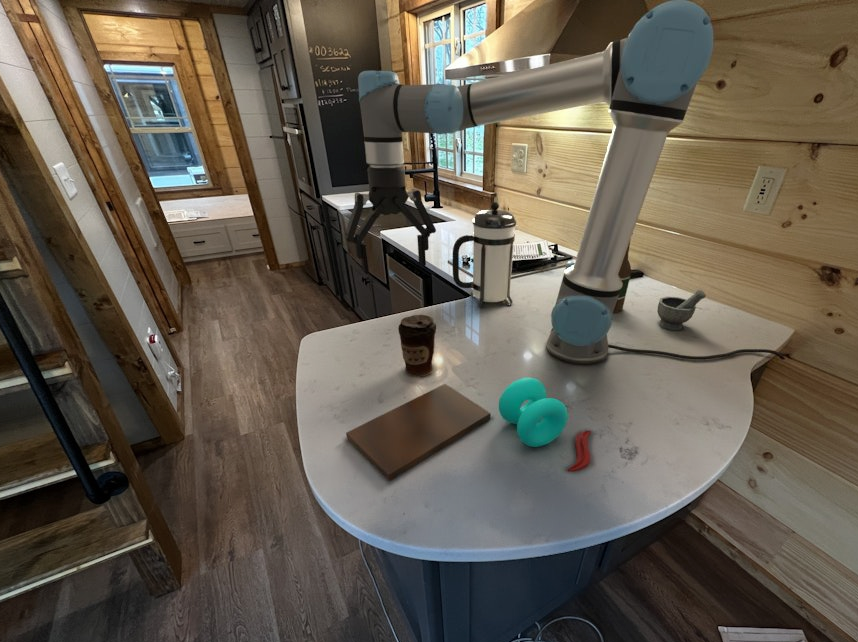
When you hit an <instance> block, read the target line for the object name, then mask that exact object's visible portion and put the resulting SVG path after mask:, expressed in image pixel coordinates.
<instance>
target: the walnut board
mask: <svg viewBox="0 0 858 642" xmlns="http://www.w3.org/2000/svg"><path fill="white" fill-rule="evenodd" d="M489 420H491V412H490V411H488V410H486V409H485V408H484V407H482V406H480V404H477V403H475V402H474V401H473V400H471V399H470V398H468V397H466V396H465V395H463V394H462V393H461V392H458V391H457V390H455V389H454V388H452V387H451V386H449V385H447V383H444V384H441V385H439V386H437V387H436V388H433V389H431V390H430V391H427V392H425V393H424V394H422V395H419V396H417V397H415V398H413V399H411V400H409V401H407V402H405V403H403V404H402V405H399V406H397V407H395V408H393V409H391V410H389V411H387V412H385V413H382V414H380V415H379V416H377V417H375V418H373V419H371V420H369V421H367V422H365V423H363V424H361V425H359V426H357V427H355V428H353V429H351V430H348V431H347V432H345V434H346V439H347V440H348V441H349V442H350V443H351V444H352V445H353V447H355V449H356V450H358V451H359V452H360V453H361V454H362V455H363V457H365V458H366V460H368V461H369V462H370V463H371V464H372V465H373V466H374V467H375V468H376V469H377V470H378V471H379V472H380V473H381V474H382V475H383V477H385V478H386V479H387V480H388V481H392V480H393V479H395V478H396V477H399V476H400V475H401V474H404V473H405V472H407V471H408V470H410V469H411V468H413V467H415V466H416V465H418V464H419V463H422V462H423V461H424V460H426V459H427V458H430V457H431V456H432V455H434V454H436V453H437V452H439V451H441V450H442V449H444V448H445V447H447V446H448V445H450V444H451V443H453V442H455V441H457V440H458V439H461V438H462V437H463V436H465V435H467V434H468V433H469V432H471V431H474V430H475V429H477V428H479V426H481V425H483V424H484V423H486V422H488V421H489Z"/></svg>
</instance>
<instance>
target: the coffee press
mask: <svg viewBox="0 0 858 642" xmlns="http://www.w3.org/2000/svg"><path fill="white" fill-rule="evenodd" d="M490 207H491V209H486V210H485V209H484V210H481V211H479V212H478V213H476V214H475V216H474V218H473V219H472V225H473V233H472V235H468V234H466V235H462V236H460V237H458V238H457V239H456V240H455V242H454V244H453V247H452V278H453V281H454V283H455V285H456V286H457V287H459V288H462V289H472V291H471V292H470V297H471V298H472V297H474V298H475V299H477V300H478V303H477V307H478V308H480V309H483V308H484V306H485V305H486V303H499V302H504V303H505V305H506V306H511V305H512V304H513V299H512V298H511V286H512V285H511V284H512V269H513V254H514V243H515V239H516V233H515V231H519V230H520V227H519V225H517V220H516V219H515V218H516V217H515V216H514V215H513V213H511V212H509V211H507V210H504V209H499V207H500V204H499V202H498V201H493V202H492V203H491V205H490ZM468 242H473V248H472V249H473V254H472V256H473V257H472V280H471V281H468V282H467V281H466V282H465V281H462V280H460V279H461V278H460V249H461V246H462V245H463V244H465V243H468Z"/></svg>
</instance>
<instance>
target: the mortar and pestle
mask: <svg viewBox="0 0 858 642" xmlns="http://www.w3.org/2000/svg"><path fill="white" fill-rule="evenodd" d="M706 297H707V294H706V293H705V291H704V290H702V289H696V290H695V292H694V293H693V294H692V295H691V296H690V297H688V298H687V299H686V298H682V297H679V296H664V297H660V298H659V301H658V304H657V315H658V317H659V319H660V321H659V324H658V325H659V326H661V327H662V328H664V329H667V330H670V331H679V330H682V328H683V324H684V323H686V322H689V321H690V320H691V319H692V317H693V316H694V314H695V311H696V306H697V304H698V303H699V302H700V301H702V300H703V299H705V298H706Z"/></svg>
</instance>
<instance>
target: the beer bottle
mask: <svg viewBox="0 0 858 642" xmlns="http://www.w3.org/2000/svg"><path fill="white" fill-rule="evenodd" d="M633 234H634V232H633V233H632V236H633ZM631 240H632V238H631V239H630V242H629V245H628V248H627V250H626V253H625V256H624V259H623V262H622V265H621V267H620V270H619V273H618V276H619V277H620V279H621V281H622V283H623V285H622V288H621V291H620V294H619V297H618V299H617V302H616V305H615V308H614V311H613V314H615V313H618V312H622V310H623V308H624V305H625V301H626V296H627V291H628V288H629V283H630V279H631V275H632V267H631V262H630V260H629V251H630V246H631Z"/></svg>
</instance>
